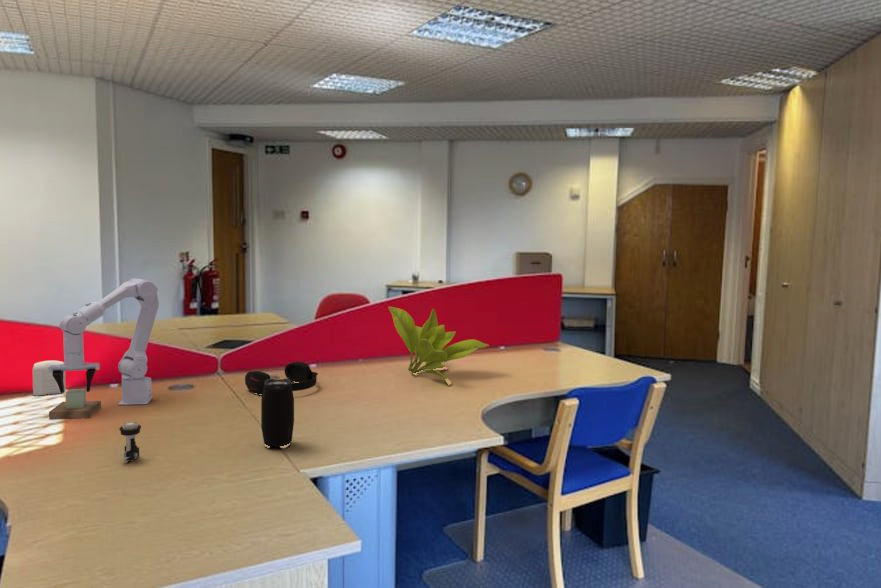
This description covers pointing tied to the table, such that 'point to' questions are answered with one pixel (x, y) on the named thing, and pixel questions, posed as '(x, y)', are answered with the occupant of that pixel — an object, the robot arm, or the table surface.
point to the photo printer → (45, 378)
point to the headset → (292, 371)
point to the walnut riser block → (75, 411)
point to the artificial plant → (430, 342)
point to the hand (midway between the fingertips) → (75, 391)
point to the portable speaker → (277, 412)
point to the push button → (130, 440)
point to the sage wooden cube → (76, 398)
